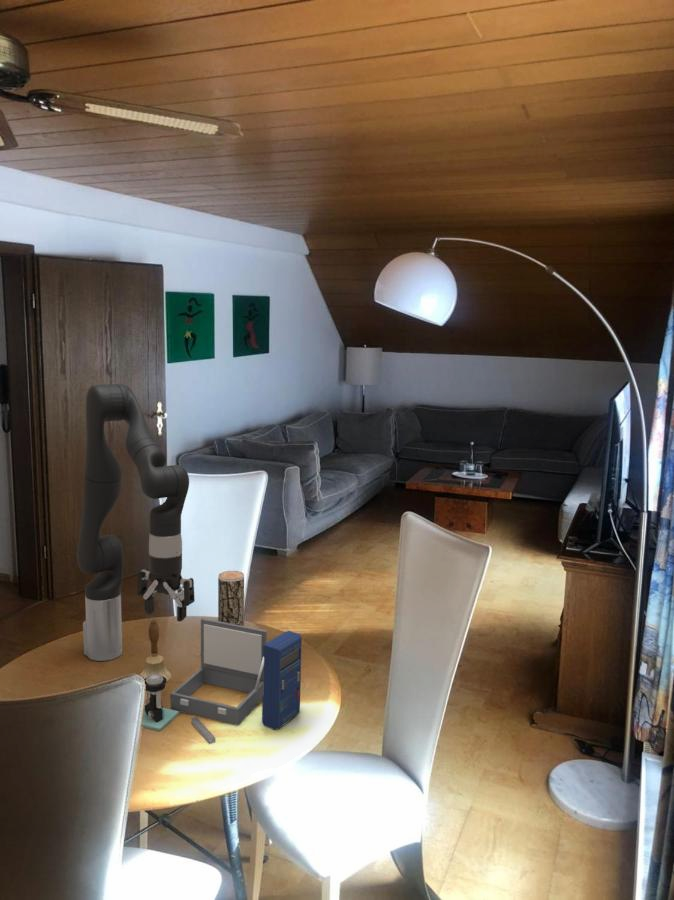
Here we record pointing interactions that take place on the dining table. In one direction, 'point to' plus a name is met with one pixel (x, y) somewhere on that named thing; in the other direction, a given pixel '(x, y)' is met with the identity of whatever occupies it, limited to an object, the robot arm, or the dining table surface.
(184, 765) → the dining table surface
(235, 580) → the brown bark-textured cylinder
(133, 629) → the dining table surface
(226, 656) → the case
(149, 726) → the pad
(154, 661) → the hand bell
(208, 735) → the rod
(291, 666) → the electronic device
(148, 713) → the push button
